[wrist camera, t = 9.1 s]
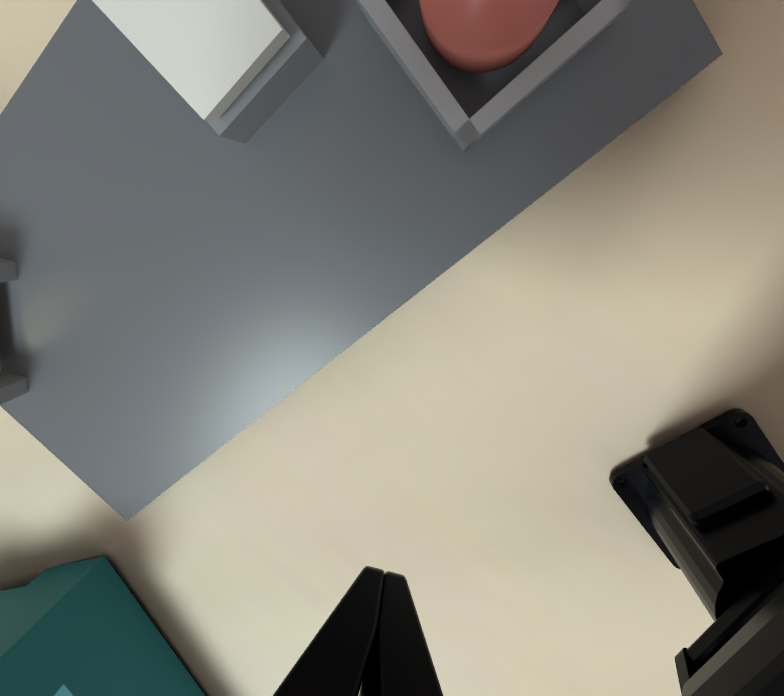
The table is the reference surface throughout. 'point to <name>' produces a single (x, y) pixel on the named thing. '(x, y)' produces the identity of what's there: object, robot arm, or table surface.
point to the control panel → (273, 209)
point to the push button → (483, 30)
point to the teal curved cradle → (84, 638)
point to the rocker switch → (201, 44)
